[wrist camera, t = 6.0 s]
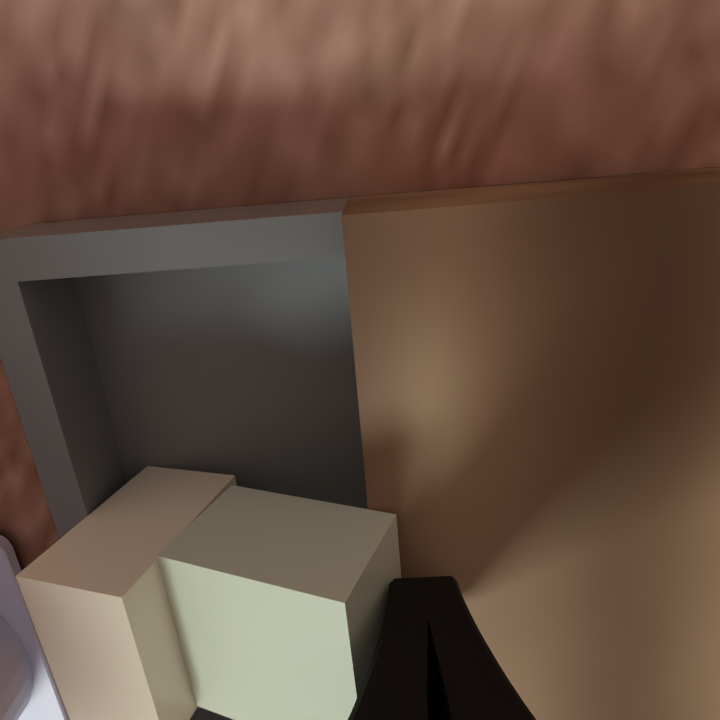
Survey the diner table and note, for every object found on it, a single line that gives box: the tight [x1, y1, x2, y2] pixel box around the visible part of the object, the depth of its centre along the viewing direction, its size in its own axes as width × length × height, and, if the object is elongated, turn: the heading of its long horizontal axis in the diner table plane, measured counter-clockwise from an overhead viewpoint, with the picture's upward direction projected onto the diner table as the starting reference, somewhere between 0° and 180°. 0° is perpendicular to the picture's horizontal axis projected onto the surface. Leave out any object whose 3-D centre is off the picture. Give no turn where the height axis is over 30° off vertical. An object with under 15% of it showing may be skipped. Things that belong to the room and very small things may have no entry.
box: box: [0, 197, 368, 720], centre depth 15 cm, size 7×16×2 cm, turn 5°
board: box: [341, 167, 720, 720], centre depth 14 cm, size 10×16×3 cm, turn 5°
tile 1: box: [157, 485, 401, 720], centre depth 12 cm, size 4×4×2 cm
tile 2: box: [15, 466, 237, 720], centre depth 13 cm, size 4×4×2 cm
